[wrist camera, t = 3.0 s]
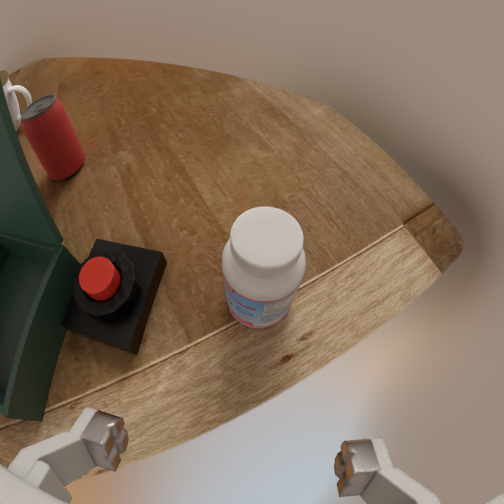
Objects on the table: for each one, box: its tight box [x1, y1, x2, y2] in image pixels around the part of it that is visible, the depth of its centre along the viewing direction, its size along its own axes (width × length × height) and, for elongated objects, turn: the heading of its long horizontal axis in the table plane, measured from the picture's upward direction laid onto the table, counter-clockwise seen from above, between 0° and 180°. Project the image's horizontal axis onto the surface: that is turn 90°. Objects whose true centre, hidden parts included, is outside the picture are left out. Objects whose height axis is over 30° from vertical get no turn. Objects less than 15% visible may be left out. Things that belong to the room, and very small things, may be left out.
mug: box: [3, 78, 32, 132], centre depth 39 cm, size 15×11×13 cm
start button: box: [79, 257, 120, 301], centre depth 24 cm, size 4×4×2 cm
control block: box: [62, 239, 167, 355], centre depth 26 cm, size 10×8×4 cm
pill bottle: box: [222, 207, 306, 328], centre depth 24 cm, size 6×6×11 cm
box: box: [0, 230, 81, 421], centre depth 23 cm, size 18×15×6 cm
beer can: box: [21, 94, 85, 180], centre depth 33 cm, size 7×7×12 cm
